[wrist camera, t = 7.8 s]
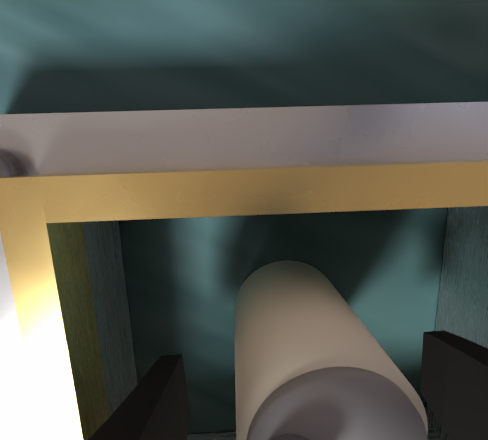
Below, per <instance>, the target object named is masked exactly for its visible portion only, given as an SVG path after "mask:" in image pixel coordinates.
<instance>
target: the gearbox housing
mask: <svg viewBox="0 0 488 440" xmlns="http://www.w3.org/2000/svg"><path fill="white" fill-rule="evenodd" d="M445 207H448V215H447V224H446V234H445V243H444V252H443V261H442V271H441V280H440V289H439V298H438V308H437V317H436V326H435V331H442V330H444V331H447V332H450V333H452V334H455V335H458V336H460V337H462V338H465V339H467V340H470V341H472V342H474V343H477V344H479V345H481V346H483V347H486V348H488V102H456V103H418V104H380V105H342V106H304V107H266V108H229V109H191V110H153V111H115V112H77V113H39V114H1V115H0V440H88V439H89V438H90V437H91V436H92V435H93V434H94V433H95V432H96V431H97V430H98V429H99V428H100V427H101V426H102V424H103V423H104V422H105V421H106V420H107V419H108V418H109V417H110V416H111V415H112V413H113V412H114V411H115V410H116V409H117V408H118V407H119V405H120V404H121V403H122V402H123V401H124V400H125V398H126V397H127V396H128V395H129V394H130V393H131V391H132V390H133V389H134V388H135V387H136V385H137V384H138V382H137V373H136V365H135V356H134V348H133V340H132V331H131V323H130V315H129V306H128V298H127V290H126V281H125V273H124V264H123V256H122V248H121V239H120V231H119V223H118V220H139V219H165V218H190V217H216V216H241V215H267V214H292V213H317V212H343V211H368V210H394V209H419V208H445ZM426 416H427V424H428V433H427V440H451V439H450V437H449V436H448V435H447V433H446V432H445V431H444V429H443V428H442V426H441V425H440V423H439V422H438V420H437V418H436V417H435V415H434V414H433V412H432V410H431V409H430V407H429V405H428V404H427V410H426ZM187 440H236V431H234V432H219V433H203V434H188V436H187Z"/></svg>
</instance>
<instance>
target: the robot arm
mask: <svg viewBox="0 0 488 440" xmlns="http://www.w3.org/2000/svg"><path fill="white" fill-rule="evenodd" d="M420 392H421V394H422V395H423V397H424V399H425V400H426V402H427V404H428V405H429V407H430V409H431V410H432V412H433V414H434V415H435V417H436V418H437V420H438V422H439V423H440V425H441V426H442V428H443V429H444V431H445V432H446V433H447V435H448V436H449V437H450V439H451V440H488V348H486V347H483V346H481V345H479V344H477V343H474V342H472V341H470V340H467V339H465V338H462V337H460V336H458V335H455V334H452V333H450V332H447V331H444V330H442V331H431V332H424V334H423V352H422V370H421V387H420ZM189 415H190V413H189V405H188V397H187V390H186V382H185V374H184V366H183V358H182V354H178V355H167V356H161V357H160V358H159V359H158V360H157V361H156V362H155V364H154V365H153V366H152V367H151V368H150V370H149V371H148V372H147V373H146V375H145V376H144V377H143V378H142V379H141V381H140V382H139V383H138V384H137V385H136V387H135V388H134V389H133V390H132V391H131V393H130V394H129V395H128V396H127V397H126V398H125V400H124V401H123V402H122V403H121V404H120V405H119V407H118V408H117V409H116V410H115V411H114V412H113V413H112V415H111V416H110V417H109V418H108V419H107V420H106V421H105V422H104V423H103V424H102V426H101V427H100V428H99V429H98V430H97V431H96V432H95V433H94V434H93V435H92V436H91V437H90V438H89V439H88V440H187V436H188V425H189Z"/></svg>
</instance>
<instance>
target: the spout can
mask: <svg viewBox="0 0 488 440" xmlns="http://www.w3.org/2000/svg"><path fill="white" fill-rule="evenodd" d="M234 334H235V392H236V440H427V433H428V424H427V416H426V412H425V408H424V406H423V403H422V401H421V399H420V397H419V395H418V394H417V392H416V391H415V389H414V388H413V387H412V385H411V384H410V383H409V382H408V380H407V379H406V378H405V376H404V375H403V374H402V373H401V371H400V370H399V369H398V368H397V366H396V365H395V364H394V362H393V361H392V360H391V359H390V357H389V356H388V355H387V354H386V352H385V351H384V350H383V348H382V347H381V346H380V345H379V343H378V342H377V341H376V340H375V338H374V337H373V336H372V334H371V333H370V332H369V331H368V329H367V328H366V327H365V326H364V324H363V323H362V322H361V320H360V319H359V318H358V317H357V315H356V314H355V313H354V312H353V310H352V309H351V308H350V306H349V305H348V304H347V303H346V301H345V300H344V299H343V298H342V296H341V295H340V294H339V292H338V291H337V290H336V289H335V287H334V286H333V285H332V284H331V282H330V281H329V280H328V279H327V277H326V276H325V275H324V274H323V273H322V272H320V271H319V270H318V269H316V268H315V267H313V266H311V265H309V264H307V263H303V262H299V261H293V260H284V261H277V262H272V263H270V264H267V265H265V266H263V267H260V268H259V269H257V270H256V271H254V272H253V273H252V274H251V275H250V276H249V277H248V278H247V279H246V280H245V281H244V282H243V284H242V285H241V287H240V289H239V291H238V293H237V296H236V299H235V304H234Z"/></svg>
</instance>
